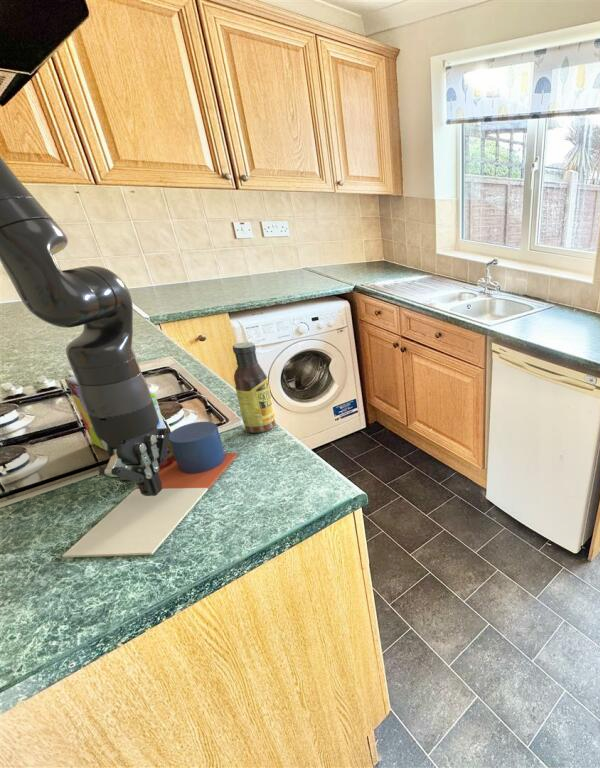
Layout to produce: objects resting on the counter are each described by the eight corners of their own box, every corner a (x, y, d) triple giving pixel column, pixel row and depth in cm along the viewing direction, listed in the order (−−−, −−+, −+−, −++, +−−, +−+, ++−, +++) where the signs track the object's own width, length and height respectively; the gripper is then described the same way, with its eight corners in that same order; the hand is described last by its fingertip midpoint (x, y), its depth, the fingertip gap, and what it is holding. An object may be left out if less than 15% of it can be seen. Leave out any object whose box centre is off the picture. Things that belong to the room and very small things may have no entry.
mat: (62, 557, 61) (61, 555, 61) (174, 455, 84) (174, 453, 84) (152, 554, 62) (151, 552, 62) (237, 454, 86) (237, 453, 86)
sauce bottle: (271, 434, 93) (253, 350, 85) (240, 435, 92) (219, 350, 84) (280, 419, 99) (264, 340, 91) (252, 420, 98) (233, 340, 90)
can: (169, 474, 78) (158, 443, 75) (191, 451, 85) (182, 421, 82) (214, 473, 80) (205, 442, 77) (232, 450, 86) (224, 421, 83)
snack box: (180, 459, 83) (156, 391, 76) (147, 475, 78) (118, 403, 72) (123, 431, 91) (96, 367, 84) (90, 444, 86) (59, 377, 80)
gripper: (124, 384, 69) (154, 469, 76) (54, 424, 57) (98, 521, 65) (173, 384, 70) (199, 469, 77) (114, 425, 58) (151, 520, 65)
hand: (153, 493), depth 71 cm, fingers closed
